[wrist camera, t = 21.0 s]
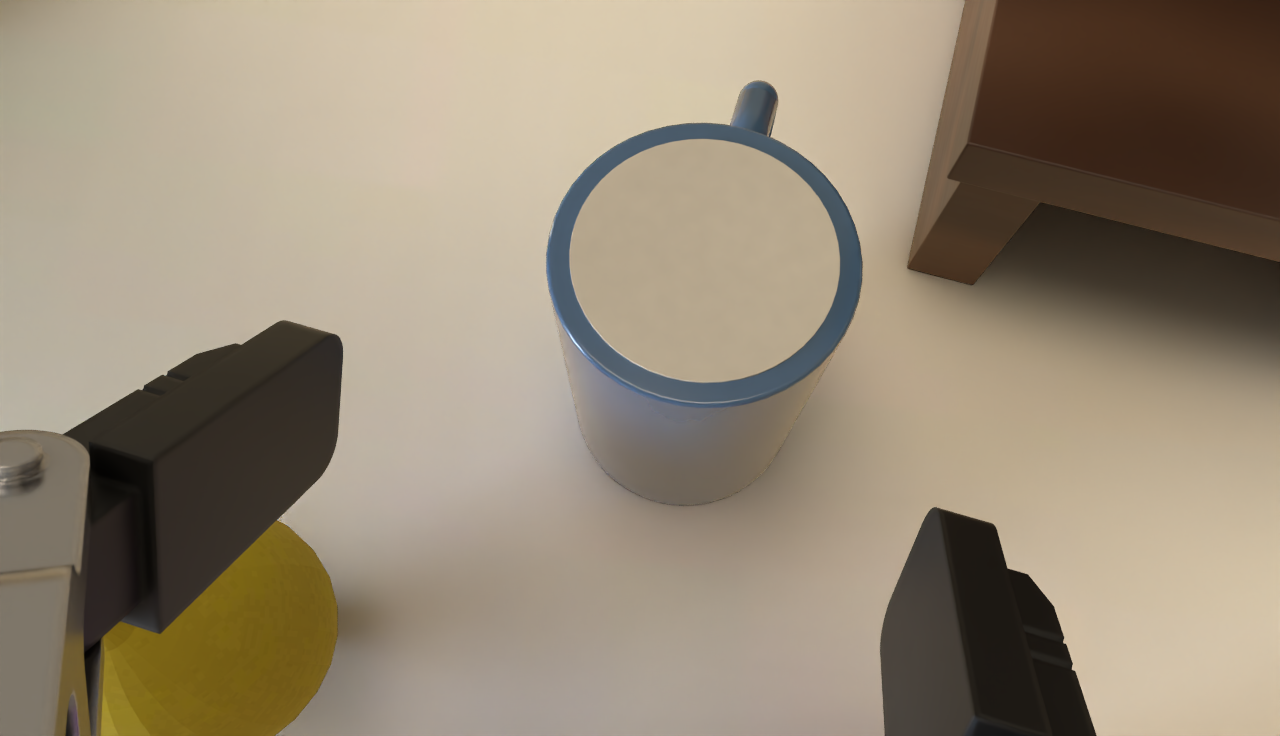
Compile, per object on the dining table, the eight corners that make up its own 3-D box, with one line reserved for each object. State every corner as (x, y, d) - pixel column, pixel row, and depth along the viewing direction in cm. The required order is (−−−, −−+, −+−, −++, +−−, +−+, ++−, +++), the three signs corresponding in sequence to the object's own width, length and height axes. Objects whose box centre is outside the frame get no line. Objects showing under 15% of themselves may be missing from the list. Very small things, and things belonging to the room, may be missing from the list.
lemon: (413, 579, 24) (308, 528, 16) (311, 793, 22) (140, 846, 15) (231, 501, 25) (50, 417, 17) (118, 703, 23) (-140, 709, 15)
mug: (759, 533, 24) (824, 446, 16) (548, 470, 25) (500, 353, 16) (829, 262, 27) (917, 63, 18) (637, 211, 28) (636, -5, 19)
